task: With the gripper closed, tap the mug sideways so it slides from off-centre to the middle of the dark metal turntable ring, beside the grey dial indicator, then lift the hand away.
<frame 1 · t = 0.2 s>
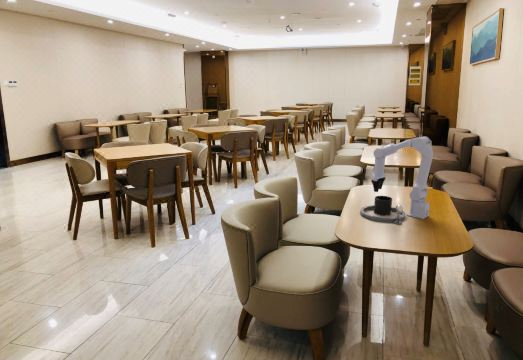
hand: (377, 190, 245), 10 cm above the table, tool pointing down, fingers open, 7 cm apart
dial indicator: (397, 223, 217), on the table
turntable ring: (382, 213, 230), point 1 cm above the table, hinge at 0.0°
mug: (382, 212, 235), resting on turntable ring
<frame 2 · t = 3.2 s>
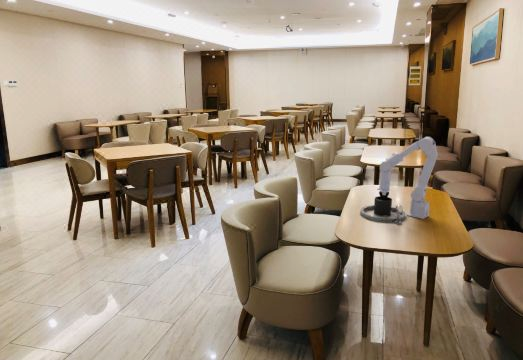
hand: (383, 203, 239), 3 cm above the table, tool pointing down, fingers closed
mug: (382, 213, 233), resting on turntable ring, touching gripper
everything else where it was.
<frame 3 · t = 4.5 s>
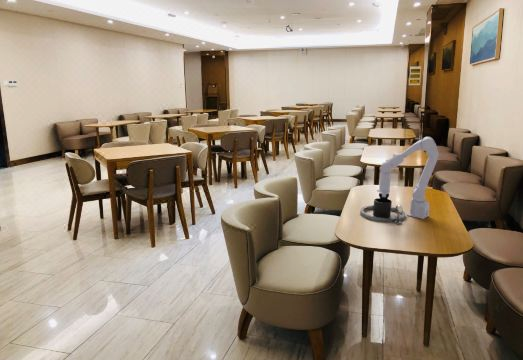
hand: (383, 206, 235), 3 cm above the table, tool pointing down, fingers closed
mug: (382, 215, 230), resting on turntable ring, touching gripper
everything else where it was.
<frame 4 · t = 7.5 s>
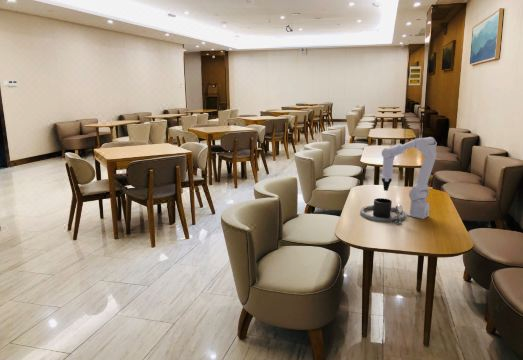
hand: (385, 190, 246), 9 cm above the table, tool pointing down, fingers closed
mug: (382, 215, 230), resting on turntable ring
everything else where it was.
at the end: mug 0.7 cm from the turntable ring (horizontally); mug tilted 0° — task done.
